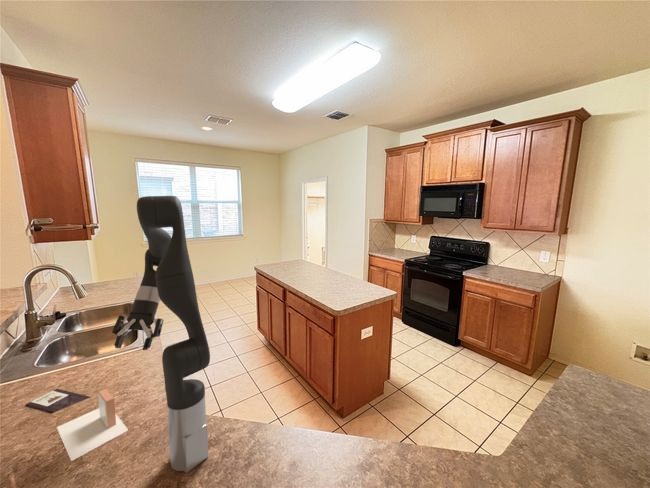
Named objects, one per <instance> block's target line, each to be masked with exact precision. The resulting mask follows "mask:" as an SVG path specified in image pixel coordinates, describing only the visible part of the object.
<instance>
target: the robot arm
mask: <svg viewBox="0 0 650 488" xmlns="http://www.w3.org/2000/svg"><path fill="white" fill-rule="evenodd" d="M136 212H137V219H138V221H139V222H138V223H139V224H140V227H141V230H142V232H143V233H144V236H145V238H146V240H147V243H148V244H147V245H148V249H146V251H145V253H144V273H143V277H142V279H141V283H140V286H139V288H138V290H137V292H136V295H135V298H134V300H133V304H132V306H131V309H130V314H128V316H125V315H121V314H119V316H118V317H117V319H116V322H115V324H114V326H113V329H112V331H111V333H112V334H114V335H116V339H115V342H114V348H115V349H121V348H122V347H123V346H122V345H123V343H124V341H125V338H126V337H125V335H127V334H129V332H131V331H133V330H134V331H143V332H144V333H145V336H146V338H145V340H144V342H143V343H144V344H143V347H142V351H148V350H149V349H150V348H151V345H152V342H153V339H155V338H157V337H158V338H159V337H160V336H161V332H162V329H163V324H164V319H163V318H161V317H160V318H156V317H155V316H156V314H157V310H158V307H159V305H160V302H162V303H163V304H164V306H166V307H167V308H168V310H170V311H171V312H172V313H173V314H174V315H176V316H177V317H178V319H179V320H180V321H181V322H182V324H183V325H184V327H185V329H186V332H187V335H188V339H184V340H183V341H179V342H176V343H173V344H171V345H167V346H166V347H165V348H164V349H163V352H162V356H161V358H162V360H161V361H162V369H163V370H162V371H163V379H164V388H165V391H164V392H165V396H166V408H167V409H166V410H167V425H168V426H167V428H168V441H169V442H168V444H169V460H170V461H169V462H170V468H171V469H173V470H174V471H176V472H184V473H185V474H187V473H189V472H191V470H193V469H194V468H196V467H197V466H199V464H201V463H202V462H203V461H205V460H206V459H207V458H209V442H208V441H209V438H208V425H207V411H206V410H207V409H206V389H205V388H206V387H205V384H204V382H203V381H201V380H199V379H193V378H191V379H189V378H188V379H185V378H187V377H190V376H192V375H193V374H195V373H196V374H197V373H198V372H200V371H203V370H204V369H206V368H207V367H208V366H209V365H210V361H211V353H210V347H209V341H208V339H207V334H206V332H205V327H204V325H203V320H202V318H201V313H200V308H199V302H198V297H197V290H196V283H195V279H194V273H193V269H192V264H191V260H190V259H191V258H190V255H189V250H188V244H187V237H186V228H185V220H184V212H183V207H182V204H181V201H180V199H179V197H177V196H176V195H150V196H149V195H148V196H141V197H139V198H138V199H137V202H136ZM164 228H172V234H171V235H172V236H171V235H170V233H169V232H168V231H166V230H165V229H164ZM154 267H156V270H155V269H154ZM126 322H127V324H125V323H126ZM124 324H125V325H124ZM153 324H154V330H153V328H152V325H153Z"/></svg>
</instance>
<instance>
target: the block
mask: <svg viewBox="0 0 650 488" xmlns="http://www.w3.org/2000/svg"><path fill="white" fill-rule="evenodd" d="M97 397H98V399H97V400H98V408H99V412H100V418H101V420H102V421H103V423H104V424H105V425H106V427H108V428H110V427H112V426H114V425H116V416H115V413H116V405H115V397H114V396H113V395H112V393H110V391H109V390H108V389H107V388H105V389H101V390H100V391H98V393H97Z"/></svg>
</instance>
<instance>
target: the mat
mask: <svg viewBox="0 0 650 488" xmlns="http://www.w3.org/2000/svg"><path fill="white" fill-rule="evenodd" d="M115 416H116V425H114V426H112V427H110V428H108V427H106V425H105V424H104V423H103V421H102V420H101V418H100V412H99V407H97V408H96V409H94V410H92V411H89V412H88V413H85V414H83V415H81V416H79V417H76V418H74V419H72V420H70V421H68V422H65V423H63V424H61V425H59V426H56V429H57V432H58V434H59V436H60V438H61V441H62V442H63V445H64V448H65V450H66V453H67V454H68V455H67V456H68V457H69V460H70V461H71V462H72V461H74V460H76V459H78V458H79V457H82V456H84V455H85V454H87V453H90V452H91V451H93V450H95V449H97V448H98V447H100V446H102V445H103V444H107V443H108V442H109V441H111V440H113V439H115V438H117V437H118V436H121V435H122V434H124V433H125V432H128V431H129V429H128V427H127V426H126V425H125V424H124V422H123V421H122V420H121V418H120V417H119V416H118V415H117V413H116V412H115Z"/></svg>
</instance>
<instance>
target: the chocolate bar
mask: <svg viewBox="0 0 650 488" xmlns="http://www.w3.org/2000/svg"><path fill="white" fill-rule="evenodd" d="M89 398H91V396H89V395H86V394H85V395H84V394H80V393H77V392H72V391H68V390H64V389H59V388H56V389H54V390H52V391H50V392H48V393H46V394H44V395H41V396H40V397H38V398H35V399H33V400H31V401H30V402H27V403H25V407H29V408H33V409H37V410H41V411H44V412H47V413H50V414H54V413H56V412H59V411H61V410H63V409H65V408H69V407H71V406H73V405H75V404H78V403H81V402H83V401H85V400H88V399H89Z"/></svg>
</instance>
